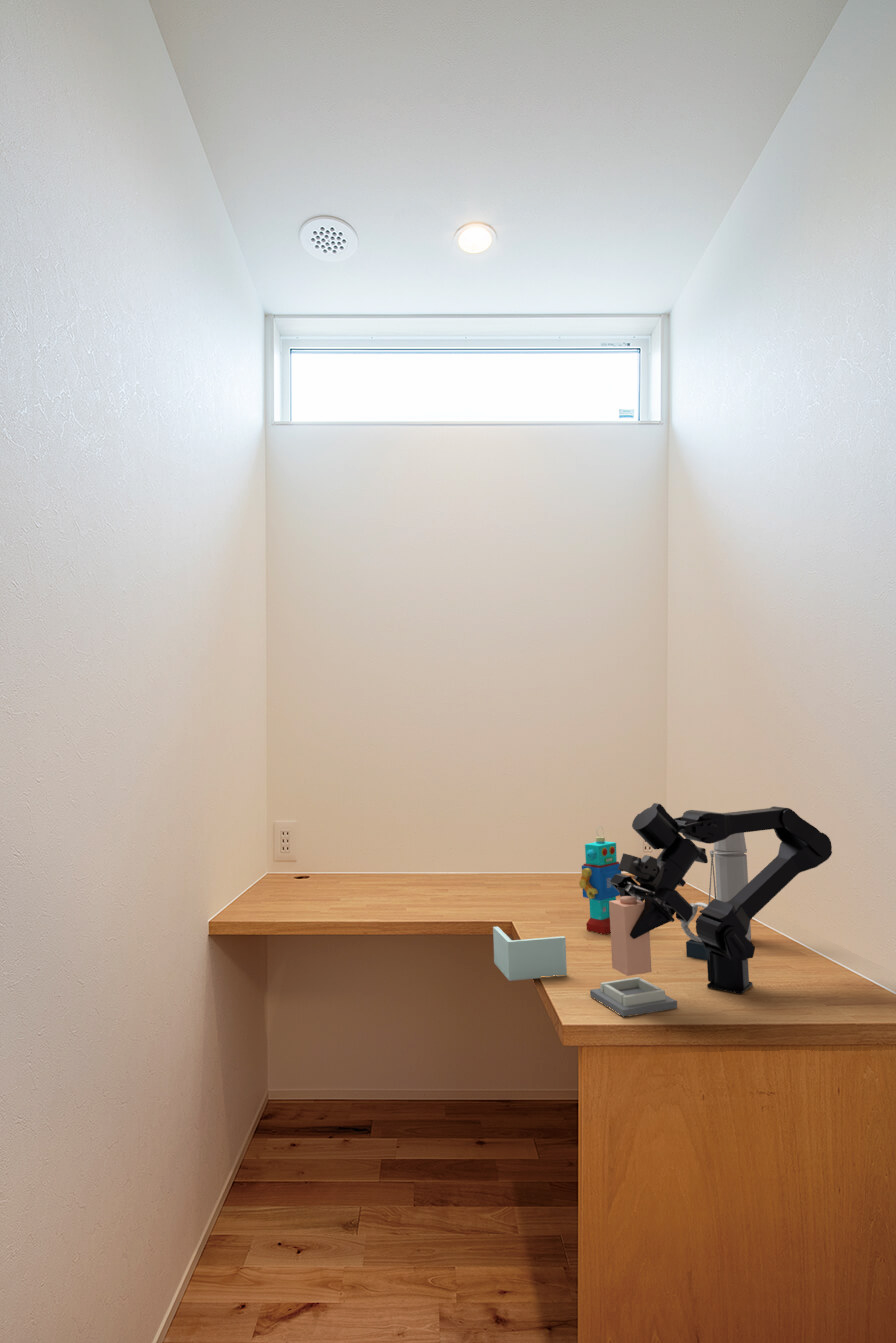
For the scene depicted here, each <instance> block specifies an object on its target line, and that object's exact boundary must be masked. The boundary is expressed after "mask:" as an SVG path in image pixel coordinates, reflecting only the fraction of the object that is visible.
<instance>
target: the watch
mask: <svg viewBox="0 0 896 1343" xmlns="http://www.w3.org/2000/svg"><path fill="white" fill-rule="evenodd" d="M689 904H690V905H691V906H692V907H693V915H692V917H691V918H690V920H689V921H688V922H687V923H686V922H683V921H681V920H679V921H680V927H681V929H682V931H683V932H684V934H685V935H686V936H687V937H688V938H689V940H687V941H686V942H685V949H686V951H685V952H686V953H685V954H686V957H687V958H692V959H697V960H702V961H707V960H708V959H709V952H710V951H711V950H709V949H705V948H704V945H703V943H702V940H701V939H700V938H699V937H698V935H697V934H695V933H693V932H692V931H691V929H690V928H689V925H690V923H691V922H692V920H694V918H695V917H696V914H697V913H698V907H701V908H703V909H705V908H706V907H707V906H708V903H705V902H701V901H700V902H695V903H694V902H691V903H689Z"/></svg>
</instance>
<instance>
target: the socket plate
mask: <svg viewBox="0 0 896 1343" xmlns="http://www.w3.org/2000/svg"><path fill="white" fill-rule="evenodd" d="M599 984H600V988H594V989H589V996H591V997H590V998H592V997H593V998H595V999H597V1000H598V1001H600V1002H602V1003H603V1004H605V1005H606V1006H608V1007H610V1008H611V1009H613V1010H614V1011H616V1012H617V1013H619V1014H620V1015H622V1016H629V1015H635V1016H637V1015H636V1014H640V1015H644V1014H643V1013H646V1014H650V1013H651V1012H652V1013H656V1012H662V1011H668V1010H672V1009H678V1001H677V1000H676V999H674V998H672V997H670V996H669V995H666V991H665V989H661V987H658V986H656V985H655V984H653V983H651V982H649V981H647V980H645V979H643V978H641V977H640V976H636V977H629V978H622V979H617V980H611V981H603V982H599ZM593 998H592V999H593ZM595 999H594V1000H595ZM598 1001H597V1002H598ZM600 1002H599V1003H600ZM603 1004H602V1005H603ZM606 1006H605V1007H606ZM611 1009H610V1010H611ZM614 1011H613V1012H614ZM617 1013H616V1014H617ZM619 1014H618V1015H619ZM620 1015H619V1016H620ZM622 1016H621V1017H622ZM629 1017H630V1016H629Z"/></svg>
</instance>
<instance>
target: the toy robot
mask: <svg viewBox="0 0 896 1343" xmlns="http://www.w3.org/2000/svg"><path fill="white" fill-rule="evenodd" d="M599 828H601V829H602V830H604V828H603V827H602V826H601V825H599V826H598V827H597V829H596V831H598V829H599ZM598 834H599V833H596V837H595V841H593V842H589V843H585V844H584V852H585V855H584V856H585V863H583V864H582V865H581V877H580V880H579V882H578V883H579V884H578V885H579V887H580V888H581V889H582V897H583V898H586V899H588V900H589V919H588V920H587V922H586V923H585V925H586V931H587V930H588V931H587V932H591V931H594V932H593V933H595V932H598V933H597V934H600V933H602V934H601V935H604V934H605V935H607V933H608V934H611V933H610V932H611V930H610V909H609V901H613V900H617V897H618V896H619V897H620V893H619V892H618V890H617V889H616V888H615V887H614V886H613V885H612V884H611V883H610V881H611V879H612V878H613V877H614V875H615V874H622V871H620V870H618V868H619V865H620V861H618V860H617V842H614V841H606V840H605V836H603V834H604V833H602V834H601V835H598Z"/></svg>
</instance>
